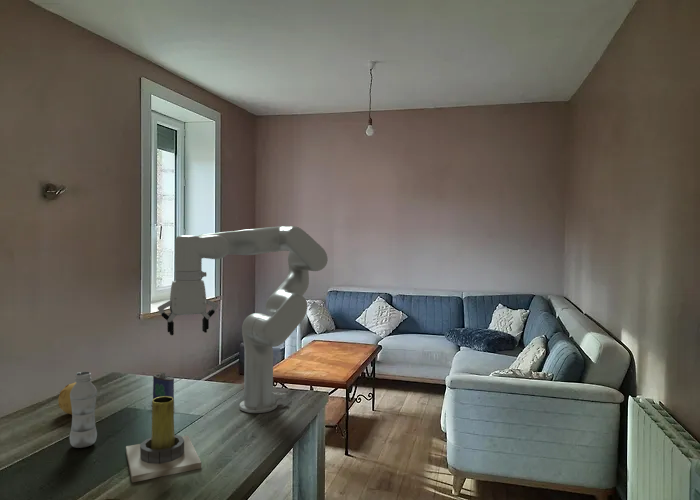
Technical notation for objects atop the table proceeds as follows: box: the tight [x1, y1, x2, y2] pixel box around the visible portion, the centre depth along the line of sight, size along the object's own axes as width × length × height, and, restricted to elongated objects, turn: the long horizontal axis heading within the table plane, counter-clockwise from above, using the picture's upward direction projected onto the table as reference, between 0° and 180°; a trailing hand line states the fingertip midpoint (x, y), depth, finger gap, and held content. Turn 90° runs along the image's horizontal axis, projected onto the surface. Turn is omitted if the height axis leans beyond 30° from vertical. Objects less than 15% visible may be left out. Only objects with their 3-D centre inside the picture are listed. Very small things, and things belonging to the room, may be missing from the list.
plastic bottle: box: [69, 371, 98, 449], centre depth 136 cm, size 6×7×20 cm
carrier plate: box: [125, 434, 202, 483], centre depth 129 cm, size 16×18×4 cm
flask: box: [152, 371, 175, 400], centre depth 171 cm, size 9×3×11 cm, turn 61°
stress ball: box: [57, 382, 76, 416], centre depth 159 cm, size 10×10×10 cm
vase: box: [150, 396, 176, 450], centre depth 129 cm, size 6×6×14 cm
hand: (188, 333), depth 150 cm, fingers open, 9 cm apart
